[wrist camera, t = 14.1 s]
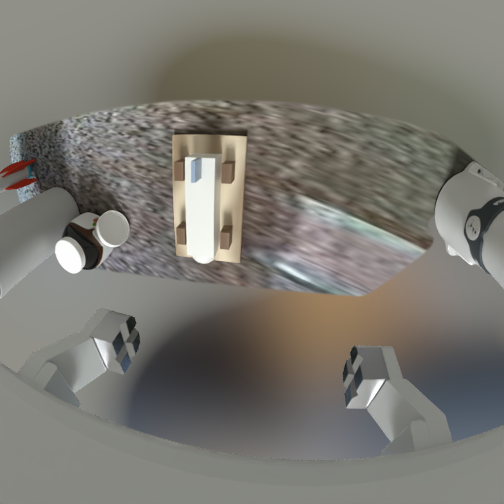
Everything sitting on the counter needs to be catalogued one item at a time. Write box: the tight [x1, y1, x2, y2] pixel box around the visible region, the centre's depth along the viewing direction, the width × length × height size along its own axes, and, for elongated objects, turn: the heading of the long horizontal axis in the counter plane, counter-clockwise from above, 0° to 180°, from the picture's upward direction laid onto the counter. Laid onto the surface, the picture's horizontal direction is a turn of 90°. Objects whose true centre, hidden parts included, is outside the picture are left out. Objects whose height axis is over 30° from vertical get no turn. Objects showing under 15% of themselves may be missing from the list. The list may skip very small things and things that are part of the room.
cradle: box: [172, 134, 247, 263], centre depth 45 cm, size 12×22×4 cm, turn 176°
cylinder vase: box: [0, 187, 80, 299], centre depth 40 cm, size 12×12×25 cm
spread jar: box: [55, 210, 130, 273], centre depth 46 cm, size 12×11×12 cm
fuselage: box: [185, 153, 222, 263], centre depth 43 cm, size 4×18×8 cm, turn 176°
